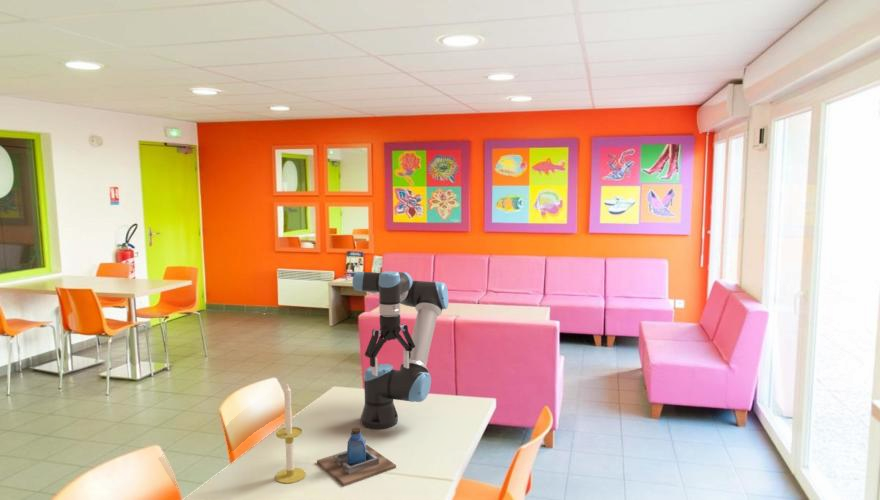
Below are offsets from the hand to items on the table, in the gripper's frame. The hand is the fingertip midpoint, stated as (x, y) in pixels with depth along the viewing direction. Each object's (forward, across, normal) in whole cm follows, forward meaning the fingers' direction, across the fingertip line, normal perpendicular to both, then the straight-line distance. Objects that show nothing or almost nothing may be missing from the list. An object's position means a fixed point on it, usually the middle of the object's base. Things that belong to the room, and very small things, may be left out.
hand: (390, 371), depth 216 cm
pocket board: (+29, -18, -5) cm, 34 cm away
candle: (+29, -39, +2) cm, 49 cm away
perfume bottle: (+28, -18, -5) cm, 33 cm away
